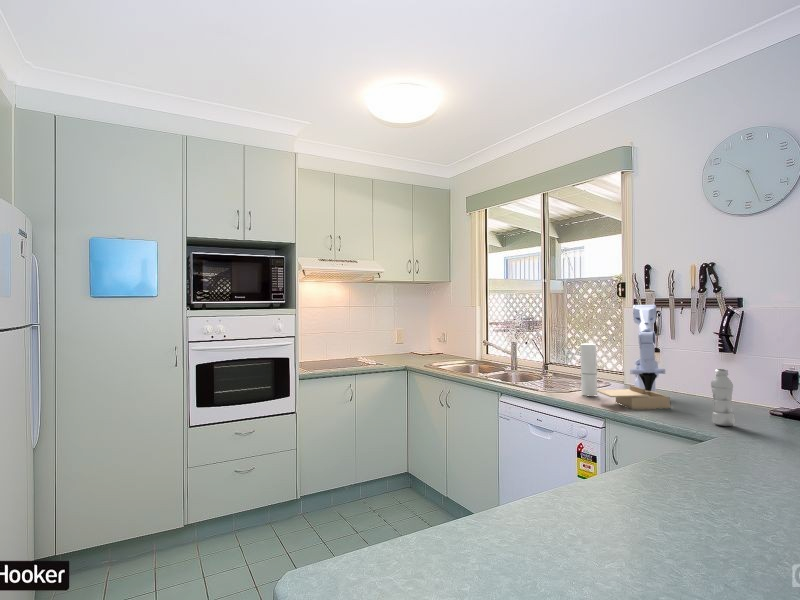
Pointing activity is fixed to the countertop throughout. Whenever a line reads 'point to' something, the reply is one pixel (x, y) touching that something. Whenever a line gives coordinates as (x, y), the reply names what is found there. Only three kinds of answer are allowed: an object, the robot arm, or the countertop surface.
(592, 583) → the countertop surface
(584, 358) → the cylindrical container
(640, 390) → the lid
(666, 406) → the mailer box
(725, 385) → the plastic bottle
